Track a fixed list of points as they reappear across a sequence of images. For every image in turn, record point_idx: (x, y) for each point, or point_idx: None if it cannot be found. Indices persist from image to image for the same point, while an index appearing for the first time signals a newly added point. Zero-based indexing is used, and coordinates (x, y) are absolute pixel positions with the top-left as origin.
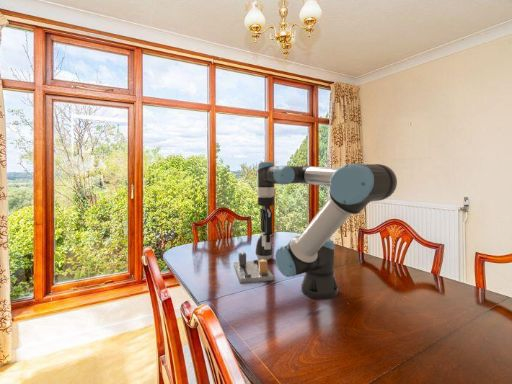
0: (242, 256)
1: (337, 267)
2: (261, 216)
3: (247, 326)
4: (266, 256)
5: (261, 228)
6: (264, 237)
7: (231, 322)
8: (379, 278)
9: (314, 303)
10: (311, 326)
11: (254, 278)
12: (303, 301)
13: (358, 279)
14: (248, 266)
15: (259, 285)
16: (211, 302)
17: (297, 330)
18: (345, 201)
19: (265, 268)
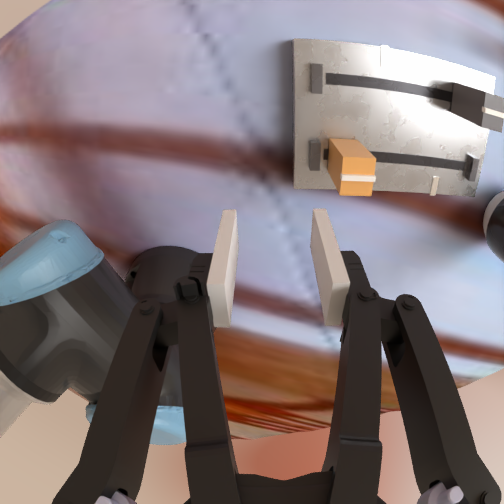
0: (477, 105)
1: (333, 367)
2: (358, 462)
3: (5, 80)
4: (488, 221)
5: (396, 307)
6: (222, 266)
7: (19, 39)
8: (242, 398)
9: (107, 253)
10: (19, 216)
11: (294, 104)
12: (115, 231)
13: (244, 374)
14: (438, 117)
15: (251, 115)
16: None
17: (4, 186)
18: None
19: (333, 172)
